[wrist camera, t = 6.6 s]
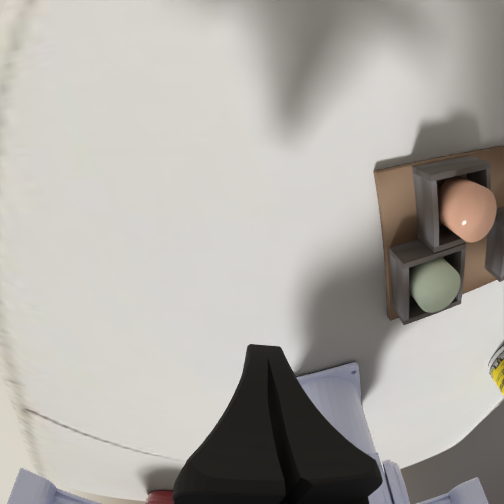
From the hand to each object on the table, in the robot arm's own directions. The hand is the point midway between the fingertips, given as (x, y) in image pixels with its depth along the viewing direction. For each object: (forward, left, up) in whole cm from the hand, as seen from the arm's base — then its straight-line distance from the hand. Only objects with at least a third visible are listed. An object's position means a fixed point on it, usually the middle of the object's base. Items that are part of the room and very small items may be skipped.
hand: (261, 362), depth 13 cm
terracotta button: (+1, -14, -7) cm, 16 cm away
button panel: (-2, -17, -9) cm, 19 cm away
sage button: (-4, -12, -8) cm, 15 cm away
